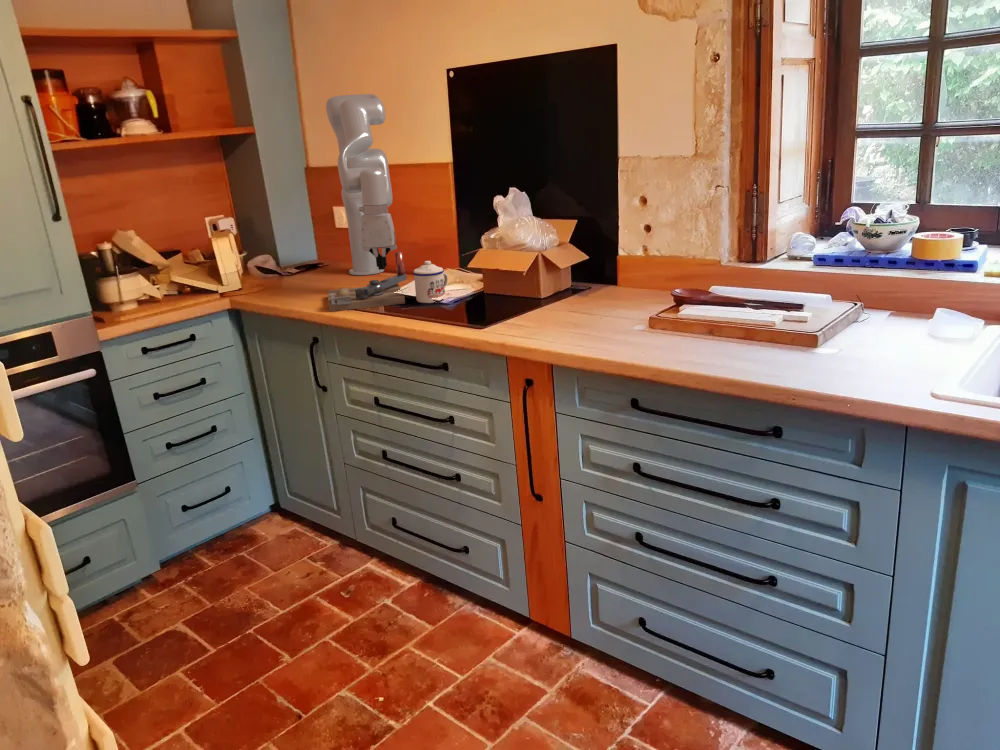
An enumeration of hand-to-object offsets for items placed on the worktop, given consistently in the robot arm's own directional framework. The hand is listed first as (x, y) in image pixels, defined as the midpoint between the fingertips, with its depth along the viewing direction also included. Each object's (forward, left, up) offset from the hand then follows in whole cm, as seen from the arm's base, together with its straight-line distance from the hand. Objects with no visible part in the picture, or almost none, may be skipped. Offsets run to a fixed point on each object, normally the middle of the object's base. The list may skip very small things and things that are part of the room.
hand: (382, 268), depth 240 cm
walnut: (+19, -13, -5) cm, 23 cm away
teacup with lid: (+19, +13, -7) cm, 24 cm away
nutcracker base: (+11, -7, -7) cm, 15 cm away
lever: (+10, -1, -5) cm, 11 cm away
